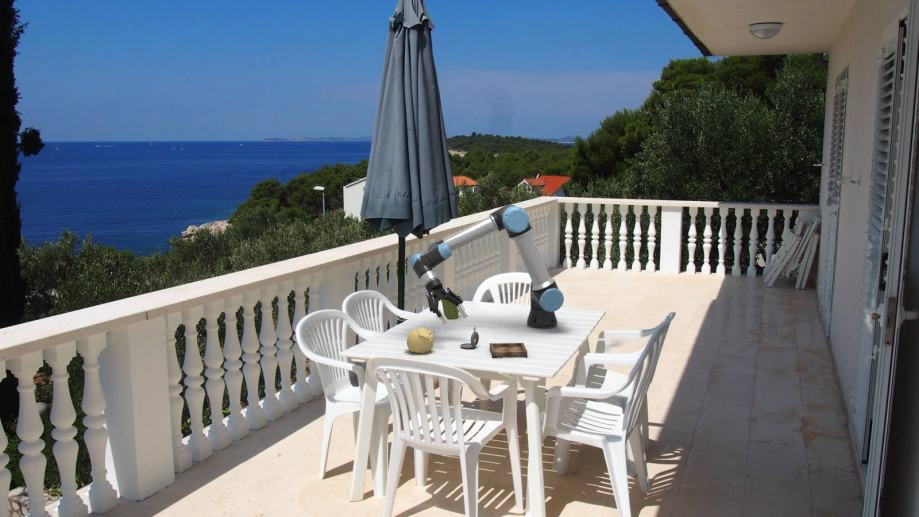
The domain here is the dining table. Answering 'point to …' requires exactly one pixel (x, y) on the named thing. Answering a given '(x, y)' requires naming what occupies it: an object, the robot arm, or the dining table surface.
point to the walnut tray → (508, 350)
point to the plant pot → (450, 309)
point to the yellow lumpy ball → (420, 340)
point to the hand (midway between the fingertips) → (456, 319)
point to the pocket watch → (472, 340)
